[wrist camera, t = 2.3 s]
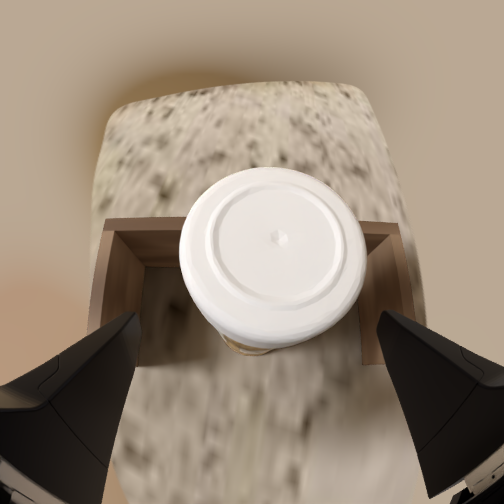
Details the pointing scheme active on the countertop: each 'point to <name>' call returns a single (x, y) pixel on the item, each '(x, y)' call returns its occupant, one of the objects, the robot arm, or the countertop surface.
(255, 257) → the sprinkles bottle
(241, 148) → the countertop surface
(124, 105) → the countertop surface
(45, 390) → the robot arm
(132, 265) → the walnut crate
